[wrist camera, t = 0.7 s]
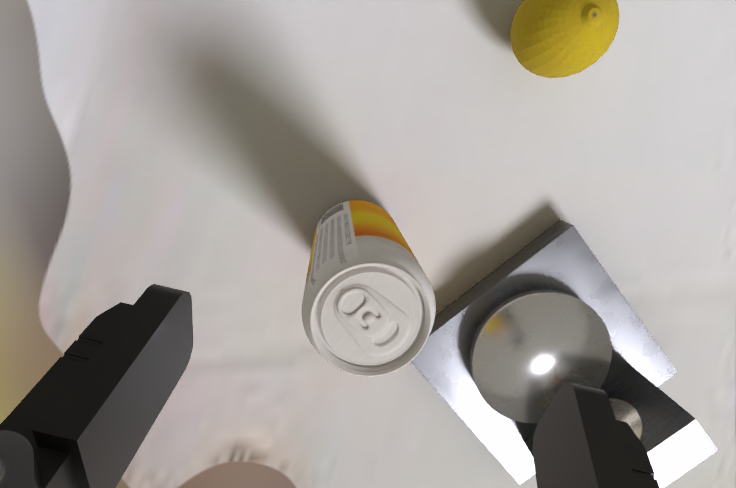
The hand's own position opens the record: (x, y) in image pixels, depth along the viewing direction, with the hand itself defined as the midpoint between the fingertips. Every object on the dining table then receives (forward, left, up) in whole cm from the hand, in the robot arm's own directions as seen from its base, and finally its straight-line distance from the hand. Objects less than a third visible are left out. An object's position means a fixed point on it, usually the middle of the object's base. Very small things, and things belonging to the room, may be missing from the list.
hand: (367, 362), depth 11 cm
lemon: (0, +16, -25) cm, 30 cm away
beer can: (+3, -2, -25) cm, 26 cm away
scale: (+19, +3, -25) cm, 32 cm away
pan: (+18, +3, -22) cm, 29 cm away
